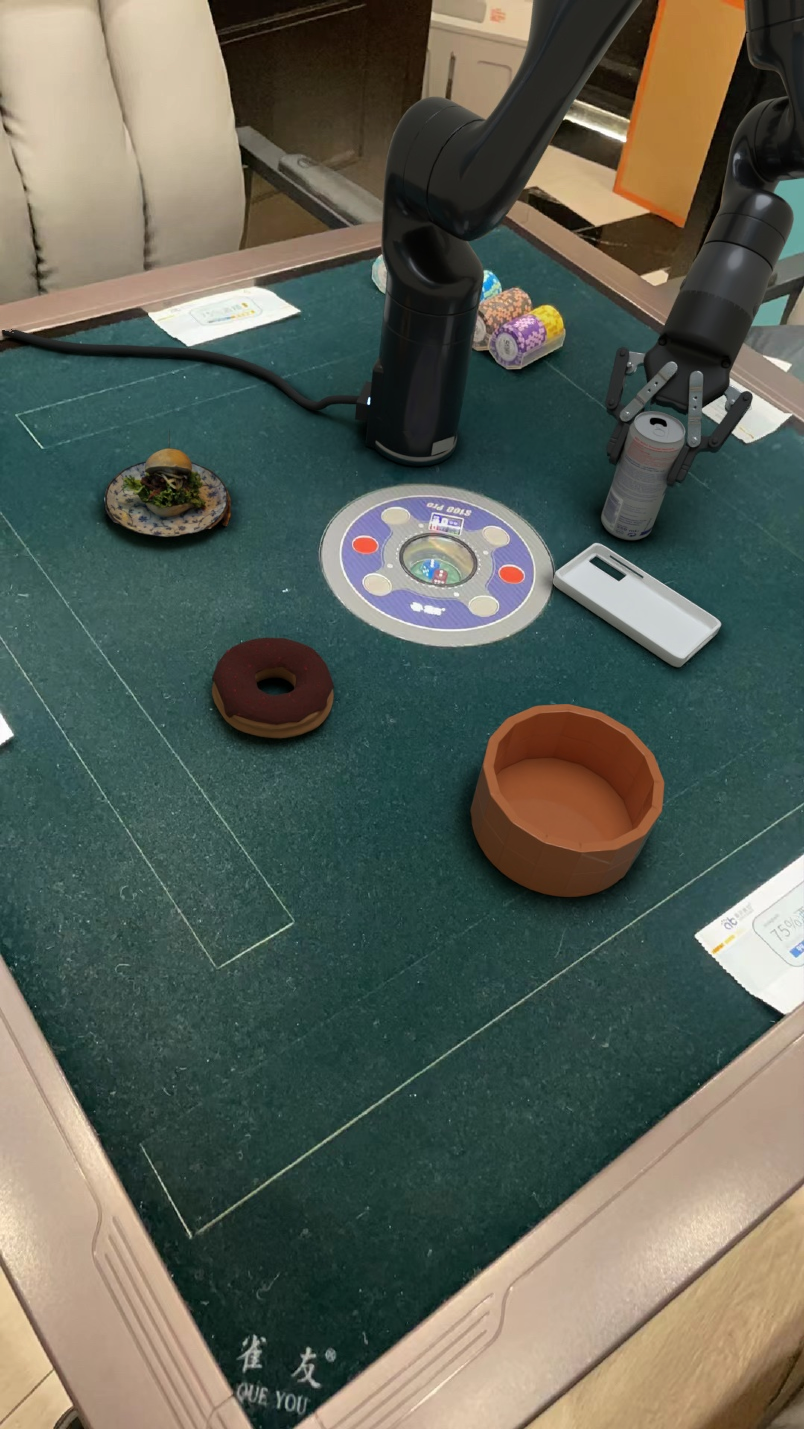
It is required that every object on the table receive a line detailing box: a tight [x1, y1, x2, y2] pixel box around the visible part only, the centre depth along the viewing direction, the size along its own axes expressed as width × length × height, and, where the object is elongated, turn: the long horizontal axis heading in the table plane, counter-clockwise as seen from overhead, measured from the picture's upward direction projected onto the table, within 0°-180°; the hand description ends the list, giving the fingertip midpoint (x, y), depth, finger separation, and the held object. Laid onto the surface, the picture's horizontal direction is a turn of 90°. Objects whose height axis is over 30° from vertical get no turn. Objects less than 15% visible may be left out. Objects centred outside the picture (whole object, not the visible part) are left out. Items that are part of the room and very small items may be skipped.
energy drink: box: [600, 410, 686, 541], centre depth 104 cm, size 5×5×12 cm
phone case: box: [552, 542, 722, 668], centre depth 100 cm, size 7×1×15 cm
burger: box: [103, 428, 232, 538], centre depth 100 cm, size 12×12×8 cm
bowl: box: [470, 703, 665, 898], centre depth 81 cm, size 14×14×6 cm
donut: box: [211, 637, 335, 739], centre depth 87 cm, size 10×10×4 cm
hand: (640, 473), depth 101 cm, fingers closed on energy drink, 5 cm apart
